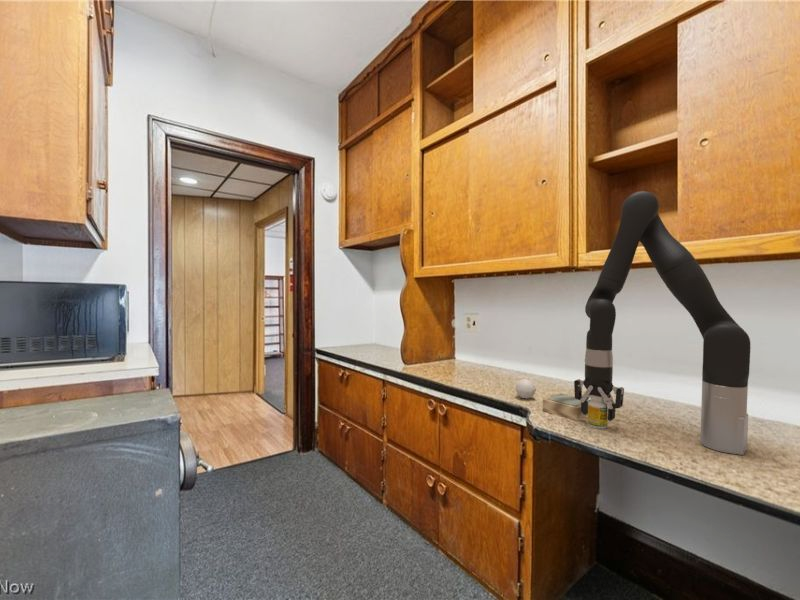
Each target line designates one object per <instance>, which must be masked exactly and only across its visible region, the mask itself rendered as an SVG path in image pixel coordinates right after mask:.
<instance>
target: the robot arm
mask: <svg viewBox="0 0 800 600" xmlns="http://www.w3.org/2000/svg"><path fill="white" fill-rule="evenodd" d="M621 206H622V207H621V211H620V215H621V216H620V222H619V225H618V229H617V232H616V236H615V237H614V240H613V243H612V245H611V248H610V249H609V253H608V255H607V256H606V259H605V262H604V264H603V266H602V269H601V271H600V273H599V276H598V279H597V282H596V284H595V286H594V288H593V290H592V291H591V293H590V295H589V297H588V299H587V302H586V304H585V306H584V307H585V308H584V309H585V311H584V312H585V315H586V316H587V318H589V330H587V333H586V339H585V340H586V343H585V348H586V349H585V355H584V379H583V380H582V379H580V378H578V379H576V380H574V381H573V384H574V385H573V388H574V390H573V391H574V397H575V399H578V400H580V401H581V412H583V414H584V415H586V414H588V402H587V400H590V397H591V395H595V396H600V397H603V399H604V402H606V403H607V406H608V410H607V422H612V421H613V420H615V418H616V409H620V408H622V407H623V405H624V395H625V394H624V393H625V387H622V386H621V387H618V386H614V384H613V371H614V369H613V366H614V365H613V363H614V358H613V357H614V356H613V333H614V328H615V324H616V317H617V315H616V314H617V311H616V305H615V304H614V300H615V298H616V296H617V295H618V294H620V293H621V291H622V290H623V288H624V286H625V283H626V280H627V278H628V276H629V272H630V271H631V267H632V265H633V261H634V258H635V255H636V252H637V250H638V249H637V248H638V246H639V244H640V243H641V245H642V246H643V248H644V250H645V251H646V253H647V256H648V258H649V260H650V262H651V264H652V265H653V266H654V268H655V270H656V272H657V274H658V275H659V277H660V279H661V280H662V282H663V283H664V284H665V286H666V287H667V289H668V291H670V293H671V294H672V295H673V296H674V298H675V299H676V300H677V301H678V302H679V303H680V304H681V306H682V307H684V308H685V310H686V311H687V312H688V313H689V315H690V316H691V317H692V319H693V321H694V323H695V325H696V327H697V328H698V330H699V333H700V335H701V337H702V339H703V343H702V347H703V348H702V352H703V353H702V370H701V371H702V374H701V375H702V378H701V379H702V383H701V407H700V409H701V410H700V433H699V434H700V435H699V438H700V439H699V442H700V444H701V445H702V446H704V447H705V448H709V449H711V450H713V451H716V452H717V451H718V452H721V453H726V454H735V455H740V456H744V455H745V453H746V452H747V450H748V438H749V437H748V432H749V414H748V389H749V388H748V385H749V377H750V367H751V366H750V364H751V338H750V336H749V334H748V333H747V332H746V330H744V329H743V327H741V326H740V325H739V324H738V322H736V321H735V319H734V318H733V317H732V316H731V315H730V314H729V312H728V311H727V310H726V309H725V308H724V306H723V305H722V304H721V302H720V301H719V299H718V297H717V294H716V293H715V291H714V288H713V286H712V283H711V282H710V279H709V278H708V276H707V275H706V273H705V272H704V269H703V268H702V266H701V265H700V264H699V262H698V261H697V259H696V258H695V257H694V255H693V254H692V253H691V251H689V250H688V249H687V248H686V247H685V246H684V245H683V244H682V243H681V242H679V241H678V240H677V239H676V238H675V237H674V236H673V235H672V234H671V233H670V232H669V230H668V229H667V227H666V226H665V224H664V222H663V221H662V219H661V217H660V215H659V213H658V212H659V209H660V208H659V207H660V206H659V200H658V198H657V197H656V195H654V194H653V193H652V192H649V191H645V190H643V191H642V190H640V191H636V192H634V193H631V194H630V195H629V196H628V197H627V198H626V199H624V201H623V203H622V205H621ZM583 386H584V387H585V389H586V390H585V392H584V393H583V389H582V387H583ZM612 391H613V392H614V394H615V401H614V397H613V396H612V394H611V393H612Z"/></svg>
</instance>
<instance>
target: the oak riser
mask: <svg viewBox="0 0 800 600" xmlns="http://www.w3.org/2000/svg"><path fill="white" fill-rule="evenodd" d="M590 400H591V399H588V400H587V402H589V401H590ZM544 411H545V412H544ZM542 412H544V413H549V414H553V415H555V416H559V417H563V418H567V419H571V420H574V421H579V420H582V419H584V418H586V417H588V414H586V415H584V414H583V412H581V401H580V400H578V399H575V395H574V396H573V395H569V394H564V393H561V392H560V393H557V394H555V395H552V396H549V397H545V398H543V399H542Z"/></svg>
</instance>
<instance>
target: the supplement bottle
mask: <svg viewBox="0 0 800 600" xmlns="http://www.w3.org/2000/svg"><path fill="white" fill-rule="evenodd" d="M589 400H590V401H589V402H588V416H587V425H588V426H589V427H591V428H593V429H599V430H603V429H607V427H608V408H609V407H608V405H607V403H606V402H605V401H604V399H603V397H600V396H595V395H591V396H590V397H589Z"/></svg>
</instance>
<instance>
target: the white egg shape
mask: <svg viewBox="0 0 800 600" xmlns="http://www.w3.org/2000/svg"><path fill="white" fill-rule="evenodd" d="M514 389H515V392H516V394H517V396H518V397H520V398H522V399H524V398H525V399H526V400H528V399H531V398H532V397H533V396H534V395H535V394H536V391H537V388H536V386H535V383H534V382H533V381H531V380H529V379H526V378H523V379H520V380H518V381H517V382H516V384H515V388H514Z"/></svg>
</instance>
